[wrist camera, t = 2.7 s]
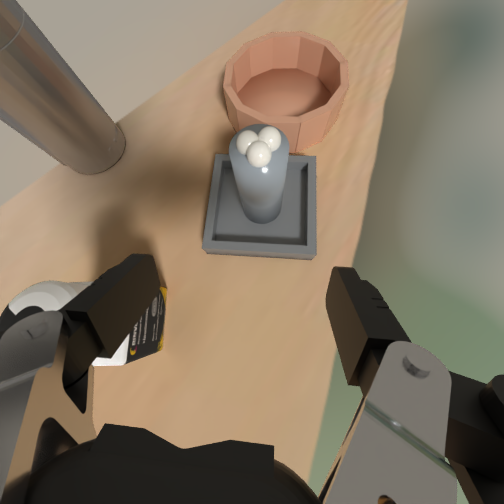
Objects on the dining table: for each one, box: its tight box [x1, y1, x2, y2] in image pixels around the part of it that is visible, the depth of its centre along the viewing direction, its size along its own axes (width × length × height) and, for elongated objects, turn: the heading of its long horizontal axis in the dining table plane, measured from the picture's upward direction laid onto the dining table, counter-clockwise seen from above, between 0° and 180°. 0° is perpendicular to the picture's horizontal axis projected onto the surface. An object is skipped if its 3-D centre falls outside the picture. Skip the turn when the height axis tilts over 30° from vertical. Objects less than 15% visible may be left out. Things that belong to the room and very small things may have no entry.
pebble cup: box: [229, 124, 289, 224], centre depth 22 cm, size 5×5×11 cm
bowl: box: [223, 31, 349, 153], centre depth 30 cm, size 16×16×5 cm
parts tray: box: [202, 154, 316, 260], centre depth 27 cm, size 13×13×2 cm
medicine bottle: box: [0, 281, 167, 366], centre depth 19 cm, size 7×7×12 cm
